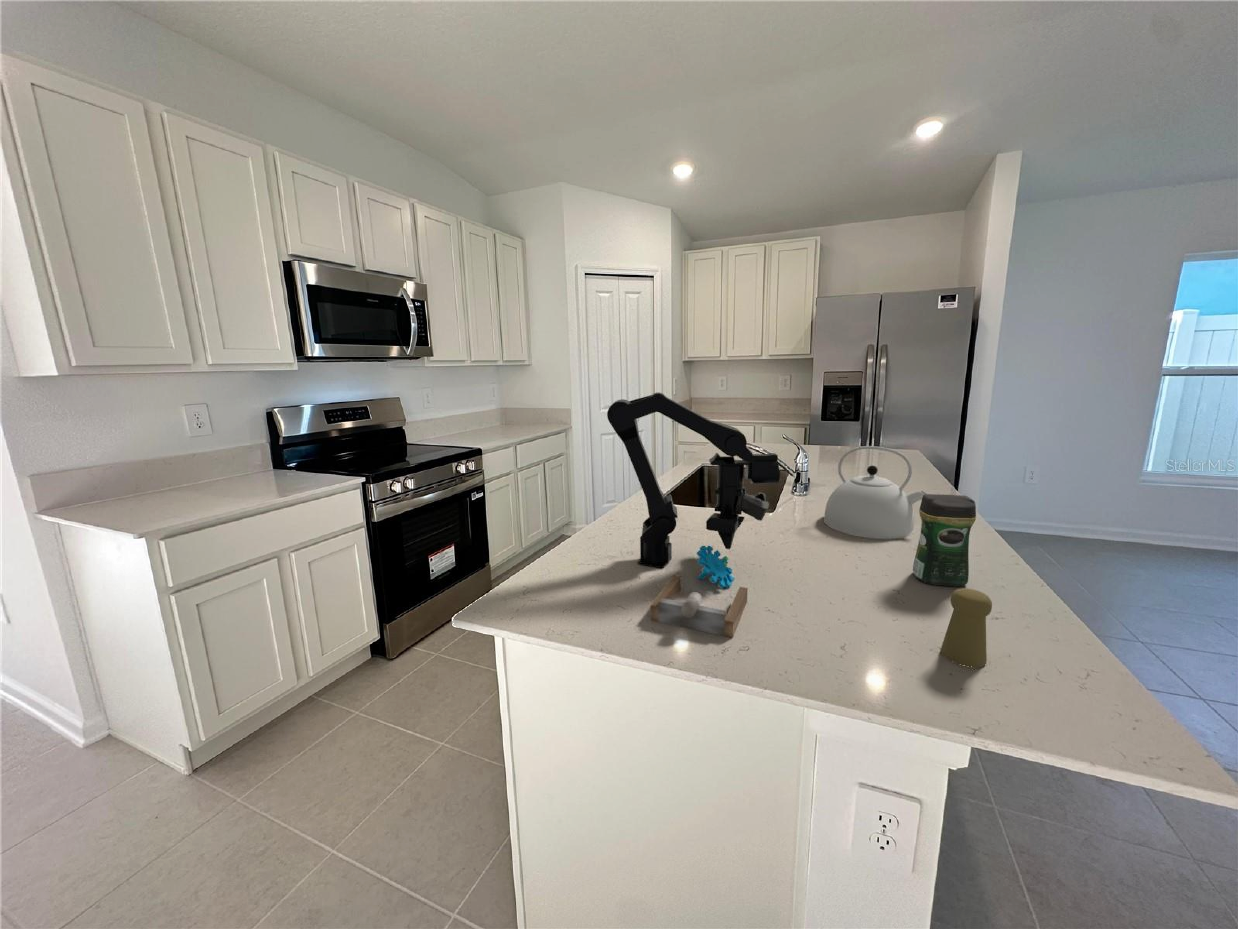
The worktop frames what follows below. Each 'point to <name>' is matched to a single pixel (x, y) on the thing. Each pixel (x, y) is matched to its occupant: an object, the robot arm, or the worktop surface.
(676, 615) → the cradle
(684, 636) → the worktop surface
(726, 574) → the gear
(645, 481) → the robot arm
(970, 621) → the cork
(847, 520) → the kettle
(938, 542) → the coffee jar
